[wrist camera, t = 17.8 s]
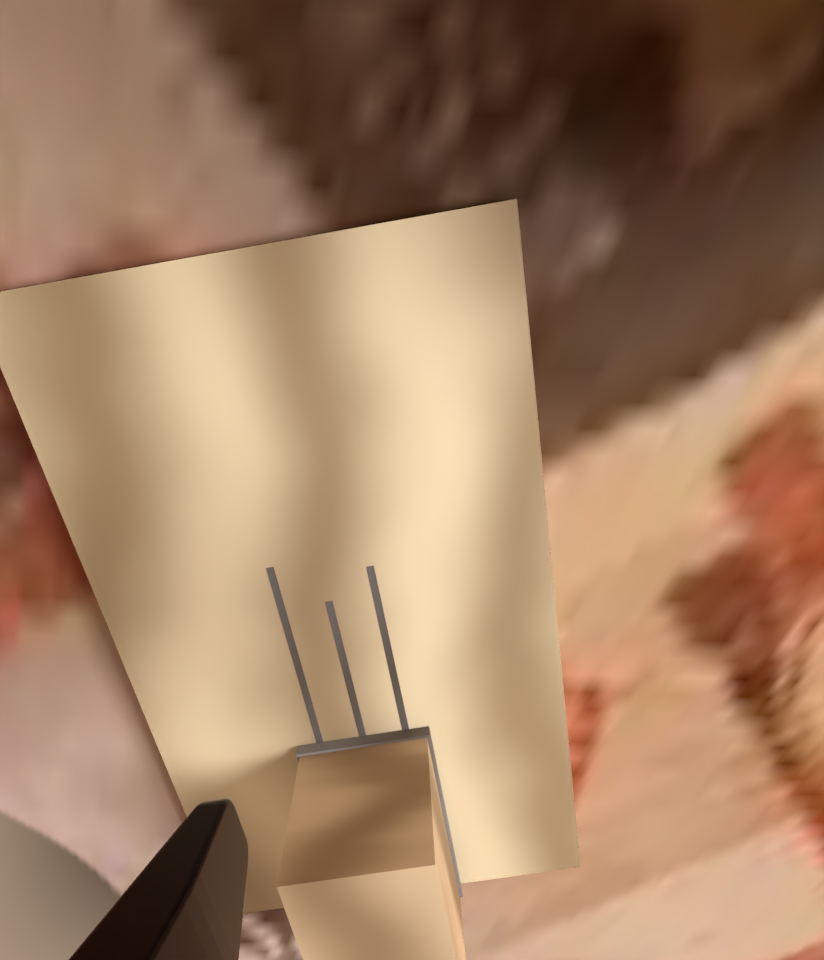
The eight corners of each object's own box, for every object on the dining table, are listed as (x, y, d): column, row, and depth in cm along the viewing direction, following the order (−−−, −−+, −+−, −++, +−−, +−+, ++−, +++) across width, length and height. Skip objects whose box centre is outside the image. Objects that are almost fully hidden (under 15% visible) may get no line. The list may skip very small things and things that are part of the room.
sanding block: (429, 726, 22) (438, 861, 17) (461, 887, 25) (476, 1038, 20) (297, 745, 22) (272, 885, 18) (346, 902, 25) (335, 1056, 21)
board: (508, 199, 17) (516, 199, 16) (572, 839, 26) (580, 867, 25) (-2, 291, 17) (-30, 296, 16) (234, 886, 27) (227, 915, 25)
